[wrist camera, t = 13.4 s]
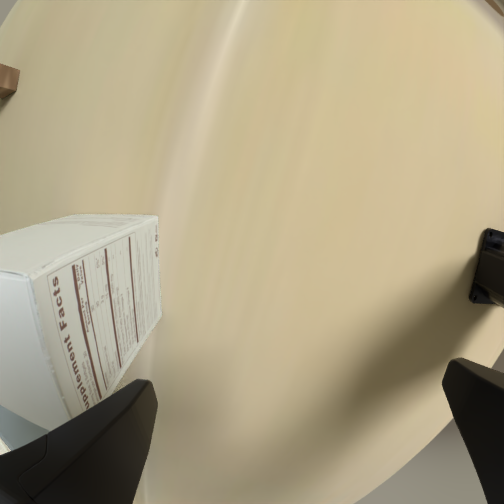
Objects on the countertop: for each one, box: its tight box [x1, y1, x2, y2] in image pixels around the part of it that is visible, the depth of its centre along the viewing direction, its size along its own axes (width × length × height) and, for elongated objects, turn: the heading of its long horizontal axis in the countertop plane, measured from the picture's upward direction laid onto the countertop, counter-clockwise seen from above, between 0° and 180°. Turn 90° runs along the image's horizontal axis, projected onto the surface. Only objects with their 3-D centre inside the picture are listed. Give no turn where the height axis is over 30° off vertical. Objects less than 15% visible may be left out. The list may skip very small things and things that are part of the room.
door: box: [0, 405, 50, 451], centre depth 16 cm, size 16×2×10 cm, turn 11°
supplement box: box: [0, 214, 162, 431], centre depth 13 cm, size 7×7×13 cm
